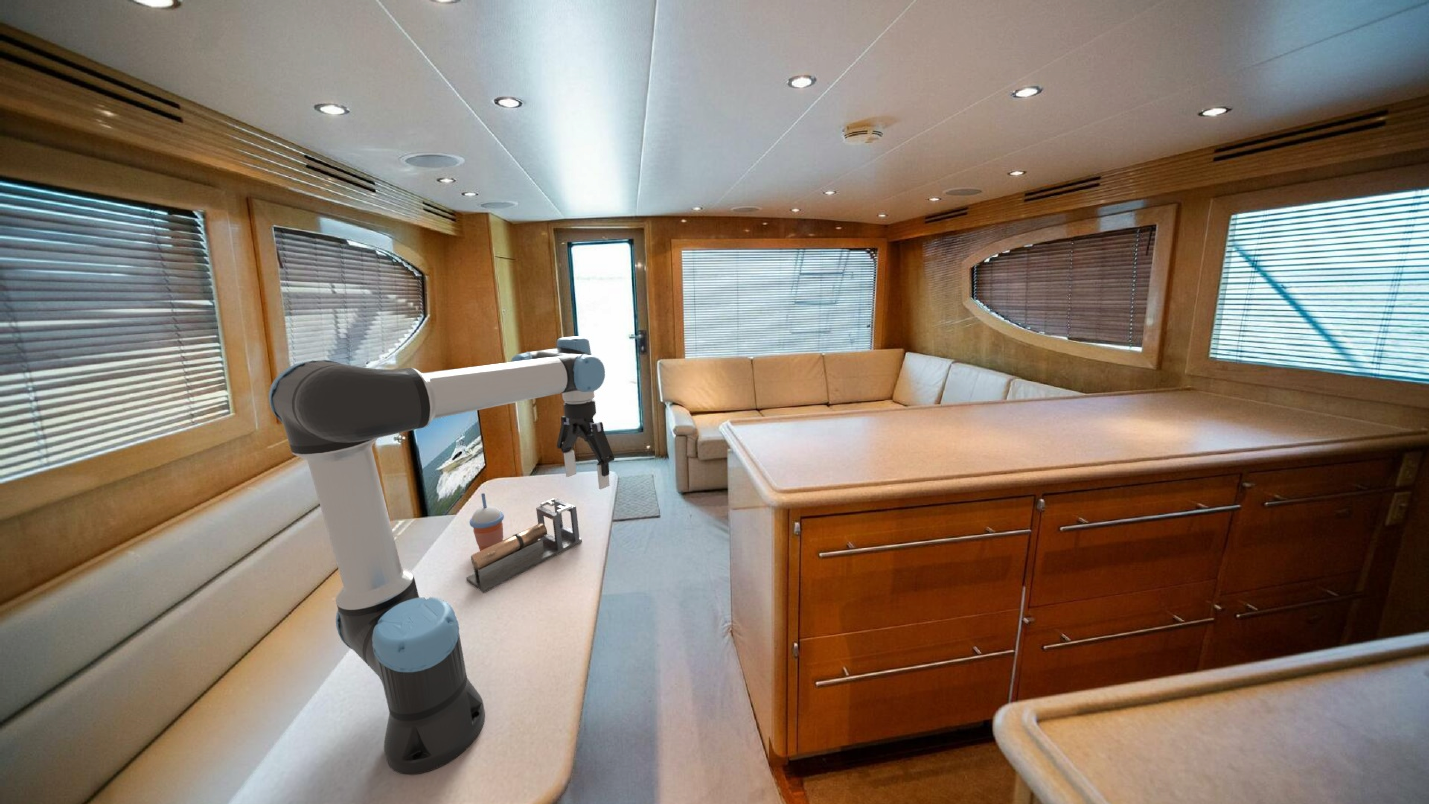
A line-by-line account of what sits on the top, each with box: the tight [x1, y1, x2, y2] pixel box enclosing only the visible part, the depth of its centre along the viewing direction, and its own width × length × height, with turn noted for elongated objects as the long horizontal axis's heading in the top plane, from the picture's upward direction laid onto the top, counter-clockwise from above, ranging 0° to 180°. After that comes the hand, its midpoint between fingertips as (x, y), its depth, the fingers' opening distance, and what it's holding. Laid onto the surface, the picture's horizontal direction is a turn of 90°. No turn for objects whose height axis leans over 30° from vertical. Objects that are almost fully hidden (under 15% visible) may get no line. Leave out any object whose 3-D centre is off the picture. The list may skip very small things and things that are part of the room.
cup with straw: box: [469, 492, 505, 551], centre depth 141 cm, size 9×9×18 cm
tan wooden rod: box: [470, 523, 548, 569], centre depth 133 cm, size 20×4×4 cm, turn 142°
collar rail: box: [465, 497, 583, 594], centre depth 136 cm, size 30×9×13 cm, turn 142°
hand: (587, 481), depth 124 cm, fingers open, 13 cm apart
